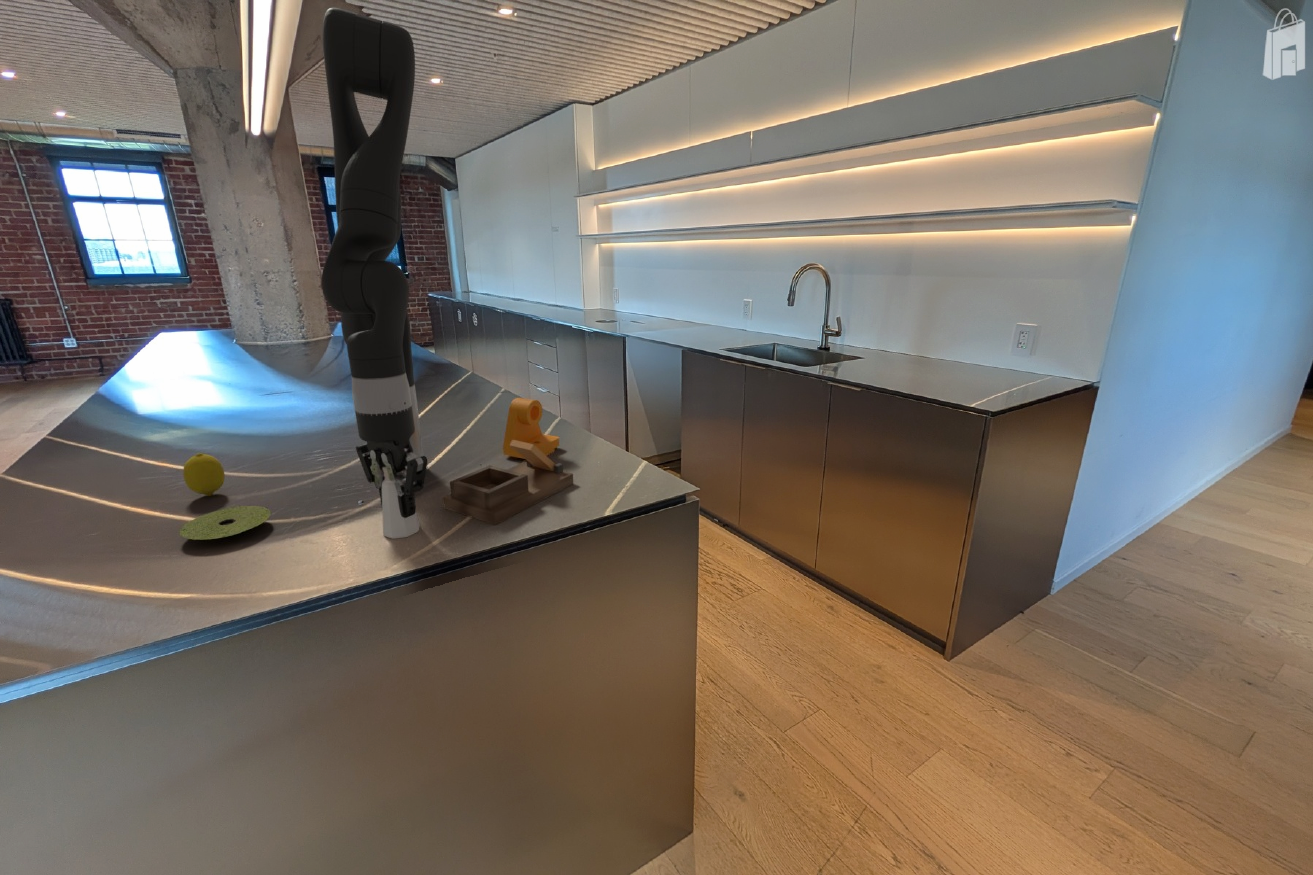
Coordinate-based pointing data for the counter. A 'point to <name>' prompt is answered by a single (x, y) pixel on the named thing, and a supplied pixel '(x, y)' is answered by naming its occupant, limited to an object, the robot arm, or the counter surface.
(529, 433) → the bracket
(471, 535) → the counter surface
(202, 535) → the green abrasive disc
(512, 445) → the tan flat block
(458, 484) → the brown open tray piece
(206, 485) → the lemon
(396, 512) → the salt shaker
